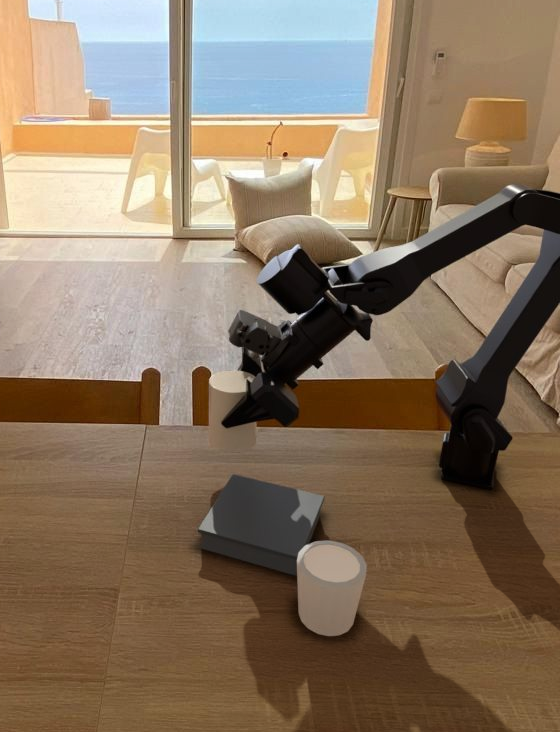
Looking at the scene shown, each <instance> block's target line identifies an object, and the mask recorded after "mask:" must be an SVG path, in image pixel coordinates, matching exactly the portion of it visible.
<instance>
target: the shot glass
mask: <svg viewBox="0 0 560 732" xmlns="http://www.w3.org/2000/svg"><path fill="white" fill-rule="evenodd" d="M367 566H368V565H367V563H366V560H365V559H364V557H363V555H362V554H360V553H359V551H357V550H356V549H355V548H354V547H351V546H349V545H347V544H345V543H343V542H340V541H339V542H338V541H334V540H316V541H313V542H311V543H310V542H309V544H308V545H305V546H304V547H303V548H302V549H301V550H300V551H299V553H298V558H297V575H296V577H297V578H296V579H297V581H296V582H297V603H298V604H297V607H298V616H299V618H300V621H301V623H302V624H303V625H304V626H305V628H307V629H308V630H310V631H312V632H313V633H316V634H317V635H320V636H325V637H337V636H341V635H343V634H345V633H348V632H349V631H350V629H351V628H352V627H353V625H354V622H355V619H356V614H357V611H358V607H359V605H360V604H359V603H360V600H361V595H362V592H363V588H364V584H365V581H366V577H367V569H368V567H367Z"/></svg>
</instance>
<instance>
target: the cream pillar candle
mask: <svg viewBox="0 0 560 732" xmlns="http://www.w3.org/2000/svg"><path fill="white" fill-rule="evenodd" d="M254 378H255V376H254V375H252V374H250V373H247V372H243V371H237V369H233V370H232V369H231V370H222V371H219V372H216V373H214V374H212V375H211V376H210V378H209V379H208V443H209V445H210V446H211V447H212V448H214V450H217V451H219V452H222V453H229V454H238V453H239V454H240V453H244V452H245V453H246V452H247V451H249V450H251V449H253V448H254V447H255V445H256V444H257V428H258V427H257V426H258V425H257V424H258V421H257V422H253V423H248V424H244V425H240V426H235V427H231V428H225V427H224V426H223V425H222V424H221V421H222V420H223V419H224V418H225V416H226V415H227V414H228V413H229V412H230V411H231V409H232V408H233V407H234V406H235V405H236V404H237V403H238V402H239V401H240V400H241V398H242V397H243V396H244V395H245V393H246V380H247V379H248V380H249V381H250V382H251V383H252V381H253V379H254Z"/></svg>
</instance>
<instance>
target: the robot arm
mask: <svg viewBox="0 0 560 732" xmlns="http://www.w3.org/2000/svg"><path fill="white" fill-rule="evenodd" d="M523 226H529V227H534V228H538V229H541V230H543V231H542V236H541V243H540V249H539V255H538V258H537V259H536V261H535V263H534V264H533V266H532V267H531V269H530V270H529V272H528V273H527V275H526V276H525V278H524V280H523V281H522V283H521V284H520V285H519V287H518V289H517V290H516V292H515V293H514V294H513V296H512V298H511V300H510V301H509V303H508V304H507V305H506V307H505V309H504V310H503V311H502V313H501V314H500V316H499V317H498V319H497V321H496V322H495V324H494V325H493V327H492V329H491V330H490V331H489V332H488V334H487V336H486V337H485V338H484V340H483V342H482V343H481V344H480V346H479V348H478V349H477V350H476V353H474V354H473V356H471V357H469V358H468V359H466V360H464V361H463V362H459V361H457V360H456V359H454V358H452V359H451V360H450V361H449V362H448V364H447V367H446V368H445V371H444V372H443V374H442V376H441V377H440V378H438V379H437V380H436V381H435V384H436V385H437V388H436V390H435V398H436V402H437V405H438V406H439V408H440V410H441V411H442V413H443V414H444V415H445V417H446V419H447V421H448V422H449V425H450V428H449V432H445V433H443V434H444V435H443V439H442V445H441V450H440V456H439V463H438V467H439V468H440V469H441V472H440V478H441V479H442V480H444V481H445V480H446V481H448V482H449V481H450V482H454V483H458V484H463V485H466V486H467V485H468V486H473V487H477V488H482V489H487V490H493V488H494V483H495V481H494V480H495V471H496V466H497V463H498V462H497V461H498V456H499V452H501V451H502V452H503V451H506V450H507V448H508V447H509V445H510V443H511V442H512V441H513V435H512V434H511V433H510V431H508V429H507V428H506V426H505V425H504V424H503V422H501V421H502V420H500V419H499V416H500V414H501V411H502V409H503V407H504V405H505V403H506V396H507V390H508V386H509V379H510V377H511V376H512V373H513V372H514V370H515V369H516V368H517V366H518V365H519V363H520V362H521V360H522V359H523V357H524V356H525V354H526V353H527V351H528V350H529V349H530V347H531V346H532V345H533V343H534V341H535V340H536V339H537V338H538V335H540V333H541V332H542V331H543V329H544V327H545V326H546V324H547V322H548V321H549V320H550V318H551V317H552V316H553V314H554V313H555V312H556V310H557V309H558V307H559V305H560V192H557V191H552V190H546V189H540V188H534V187H529V186H527V185H525V184H522V183H512V184H508V185H506V186H505V187H503V188H502V189H501V190H500V191H499V192H498V193H497V194H494V195H493V196H491V197H489V198H487V199H485V200H484V201H482V202H480V203H478V204H476V205H475V206H473V207H471V208H469V209H468V210H466V211H464V212H462V213H461V214H458V215H457V216H455V217H453V218H451V219H450V220H448V221H446V222H444V223H442V224H440V225H439V226H437V227H435V228H433V229H431V230H430V231H428V232H427V233H424V234H423V235H421V236H419V237H417V238H416V239H415V238H414V240H412V241H410V242H407V243H404V244H400V245H395V246H390V247H384V248H381V249H378V250H376V251H373V252H370V253H367V254H365V255H362V256H360V257H357V258H356V259H355V260H353V261H352V262H351V263H345V264H338V265H329V266H324V267H320V266H319V264H317V262H315V260H314V259H313V258H311V256H310V255H309V253H308V251H307V249H305V247H303V245H301V244H300V243H297V244H296V245H295V246H293V247H292V249H288V250H285V251H283V252H282V253H280V254H279V255H275V256H274V257H273V258H272V259H270V261H269V262H268V263H266V265H264V267H263V268H262V270H261V271H260V272H259V274H258V276H257V278H256V284H258V285H259V286H260V287H261V288H262V290H263V291H265V292H266V293H267V294H268V295H269V296H270V297H271V298H272V299H273V300H274V301H275V302H276V303H277V304H278V305H279V306H280V307H281V308H282V309H283V310H284V311H285V312H286V313H287V314H289V315H293V314H296V315H297V316H299V317H298V318H296V319H295V320H294V321H293V322H292V321H290V320H289V319H287V320H283V321H282V322H281V323H280V324H278V325H276V324H273V323H271V322H269V321H268V320H266V319H264V318H262V317H260V316H257V315H255V314H253V313H251V312H248V311H246V310H243V309H239V310H238V311H237V312H236V315H235V317H234V318H233V321H232V322H231V324H230V326H229V328H228V330H227V333H228V335H229V337H228V341H229V343H230V344H231V345H233V346H235V347H236V348H239V349H240V348H241V363H240V365H239V366H238V368H237V369H236V371H243V372H247V373H250V374H252V375H254V376H255V378H254V379H253V381H252V383H251V382H250V381H249V380H248V379H247V380H246V393H245V395H244V396H243V397H242V398H241V400H240V401H239V402H238V403H237V404H236V405H235V406H234V407H233V408H232V409H231V411H230V412H229V413H228V414H227V415H226V416H225V418H224V419H223V420H222V421H221V424H222V425H223V426H224V427H225V428H231V427H235V426H240V425H244V424H248V423H253V422H257V423H258V422H262V421H270V420H275V421H277V422H278V423H279V424H281V426H283V428H289V426H290V425H292V424H293V423H294V422H296V421H297V420H298V419H299V417H300V406H299V403H298V399H297V395H296V394H295V393H294V392H293V391H292V390H294V389H296V388H297V387H298V386H299V385H300V384H299V381H298V378H300V377H301V376H302V375H304V374H305V373H306V372H307V371H308V370H310V368H312V367H314V368H315V369H316V370H319V369H320V368H321V367H322V366H323V365H324V362H323V359H322V358H324V357H325V356H326V355H327V354H328V353H330V352H331V351H332V350H333V349H335V347H337V346H338V345H339V344H340V343H342V342H343V341H344V340H346V338H348V337H349V336H350V335H351V334H352V333H354V332H356V333H357V334H358V335H360V337H361V338H362V339H363V340H364V341H366V342H368V341H370V340H371V338H372V337H371V334H372V333H371V329H372V324H373V321H374V320H373V318H372V316H371V315H373V316H382V315H385V314H387V313H389V312H391V311H393V310H394V309H395V308H397V307H398V306H399V305H401V304H403V302H405V301H406V300H407V299H409V298H410V297H411V296H413V295H414V293H415V292H416V291H417V290H418V288H419V287H420V286H421V285H422V283H424V281H426V280H427V279H428V278H429V277H431V276H432V275H433V274H436V273H437V272H439V271H441V270H443V269H445V268H447V267H449V266H450V265H452V264H454V263H456V262H458V261H460V260H461V259H463V258H465V257H467V256H469V255H471V254H473V253H475V252H477V251H478V250H480V249H482V248H484V247H486V246H487V245H488V246H489V244H492V243H493V242H495V241H497V240H499V239H500V238H502V237H504V236H506V235H508V234H510V233H512V232H513V231H516V230H517V229H519V228H521V227H523ZM328 291H329V292H328ZM355 307H357V308H358V309H359V310H360V311H362V312H359V311H358V310H357V309H356V308H355ZM286 385H287V386H286Z"/></svg>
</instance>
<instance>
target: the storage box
mask: <svg viewBox="0 0 560 732" xmlns="http://www.w3.org/2000/svg"><path fill="white" fill-rule="evenodd" d="M325 498H326V497H325V495H322V494H317V493H314V492H309V491H305V490H301V489H296V488H292V487H289V486H284V485H280V484H276V483H272V482H267V481H263V480H260V479H255V478H251V477H247V476H243V475H239V474H235V473H233V474H231V476H230V478H229V479H228V480H227V482H226V484H225V485H224V487H223V489H222V490H221V492H220V494H219V495H218V497H217V498H216V500H215V501H214V503H213V505H212V506H211V508H210V509H209V510H208V512H207V514H206V516H205V517H204V519H203V520H202V522H201V523H200V525H199V527H198V528H197V533H198V534H201V535H200V549H201V550H204V551H208V552H212V553H216V554H219V555H223V556H226V557H229V558H232V559H236V560H239V561H244V562H247V563H250V564H253V565H257V566H260V567H264V568H267V569H271V570H275V571H277V572H281V573H284V574H288V575H292V576H295V577H297V558H298V553H299V551H300V550H301V549H302V548H303V547H304V546H305V545H308V544H310V542H311V539H312V537H313V535H314V532H315V530H316V528H317V525H318V522H319V519H320V517H321V510H322V509H321V508H322V506H323V503H324V501H325Z"/></svg>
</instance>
